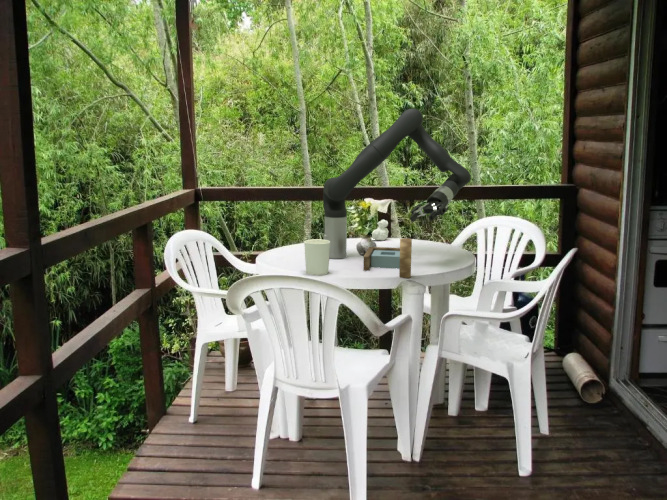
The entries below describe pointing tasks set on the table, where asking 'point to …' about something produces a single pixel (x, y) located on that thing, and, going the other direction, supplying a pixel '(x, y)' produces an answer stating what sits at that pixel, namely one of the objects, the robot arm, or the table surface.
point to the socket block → (385, 259)
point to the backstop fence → (370, 251)
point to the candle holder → (317, 256)
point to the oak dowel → (405, 258)
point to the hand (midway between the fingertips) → (420, 219)
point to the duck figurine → (381, 231)
